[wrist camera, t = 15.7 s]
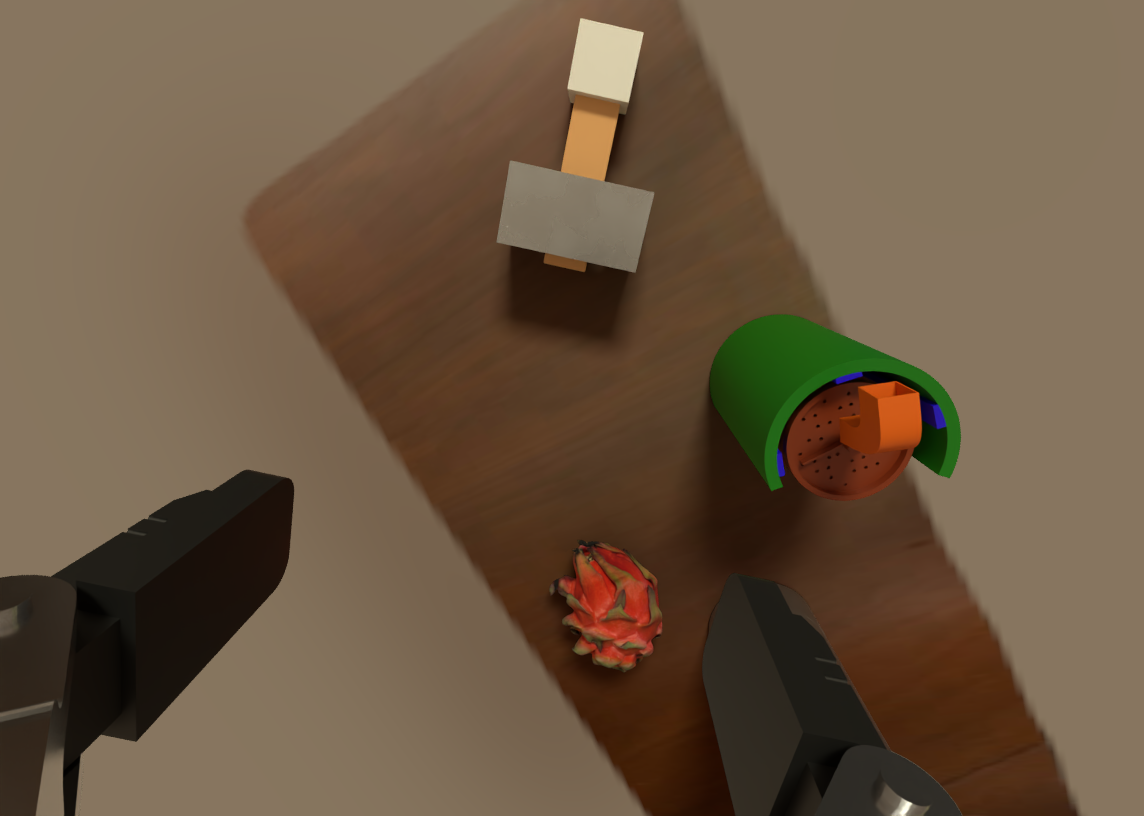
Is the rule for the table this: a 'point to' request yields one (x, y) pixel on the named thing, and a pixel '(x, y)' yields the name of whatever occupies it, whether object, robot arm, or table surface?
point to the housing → (574, 216)
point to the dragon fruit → (611, 605)
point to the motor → (829, 408)
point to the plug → (597, 102)
